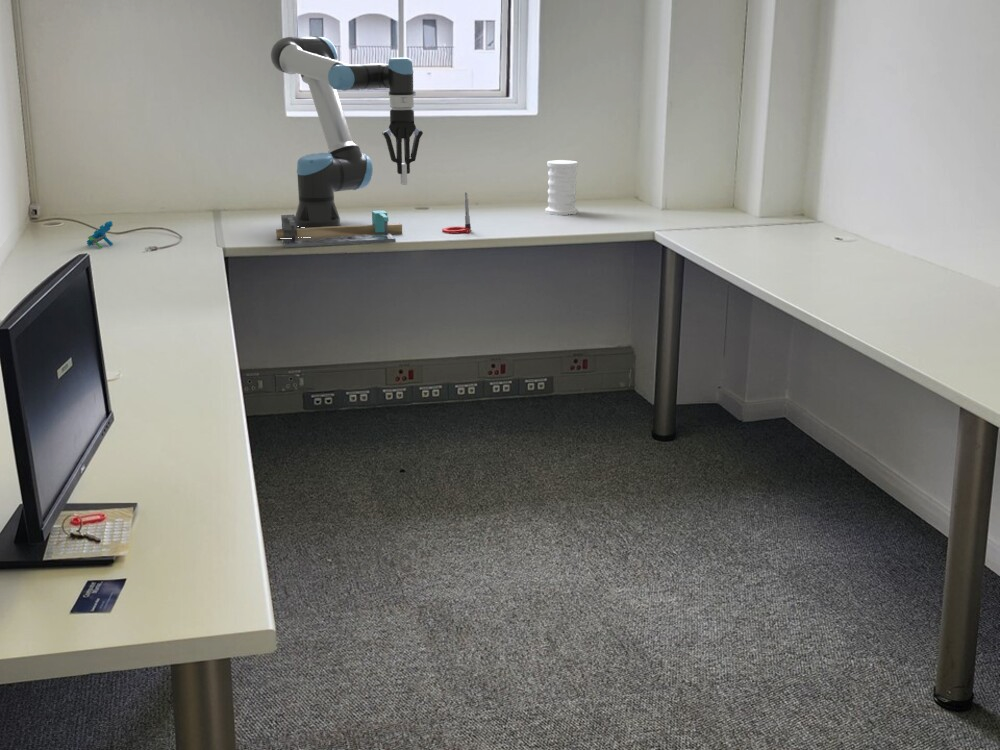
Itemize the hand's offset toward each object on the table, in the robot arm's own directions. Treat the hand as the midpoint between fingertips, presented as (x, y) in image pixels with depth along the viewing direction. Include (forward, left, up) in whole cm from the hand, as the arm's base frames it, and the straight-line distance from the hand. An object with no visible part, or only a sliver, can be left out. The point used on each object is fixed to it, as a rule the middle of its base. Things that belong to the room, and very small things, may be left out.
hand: (403, 184), depth 362 cm
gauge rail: (+3, -21, -16) cm, 27 cm away
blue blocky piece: (-5, -94, -16) cm, 95 cm away
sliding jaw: (+3, -8, -15) cm, 17 cm away
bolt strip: (+9, -23, -16) cm, 30 cm away
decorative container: (-23, +63, -16) cm, 69 cm away
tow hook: (+2, +17, -16) cm, 23 cm away
